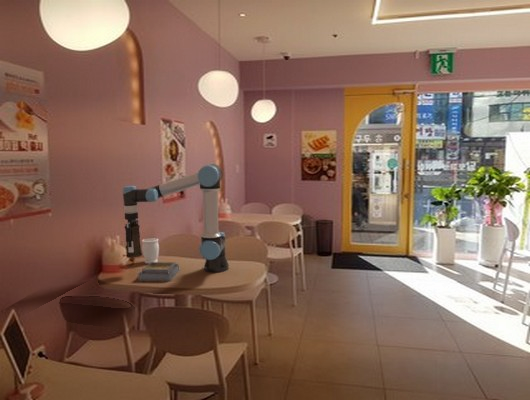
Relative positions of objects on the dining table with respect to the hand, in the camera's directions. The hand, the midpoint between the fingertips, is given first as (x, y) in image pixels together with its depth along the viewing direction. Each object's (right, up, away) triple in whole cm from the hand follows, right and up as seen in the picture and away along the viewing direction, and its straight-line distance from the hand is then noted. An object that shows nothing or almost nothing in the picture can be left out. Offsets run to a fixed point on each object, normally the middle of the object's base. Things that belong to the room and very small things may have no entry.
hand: (134, 250), depth 241 cm
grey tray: (+15, -15, -1) cm, 21 cm away
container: (0, -3, 0) cm, 4 cm away
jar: (+2, -11, +29) cm, 31 cm away
